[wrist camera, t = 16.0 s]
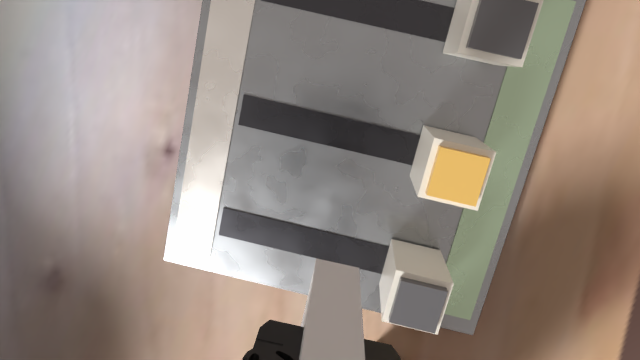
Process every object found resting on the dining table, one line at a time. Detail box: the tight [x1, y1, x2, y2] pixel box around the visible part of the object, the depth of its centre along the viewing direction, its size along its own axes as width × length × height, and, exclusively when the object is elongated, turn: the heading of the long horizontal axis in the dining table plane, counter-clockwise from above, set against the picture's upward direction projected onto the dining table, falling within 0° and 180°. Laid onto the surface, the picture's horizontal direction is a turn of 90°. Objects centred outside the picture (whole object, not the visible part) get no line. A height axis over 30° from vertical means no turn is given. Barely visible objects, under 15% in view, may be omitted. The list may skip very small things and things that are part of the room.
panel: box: [164, 0, 586, 335], centre depth 29 cm, size 20×21×2 cm
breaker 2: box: [443, 0, 544, 67], centre depth 24 cm, size 3×3×5 cm
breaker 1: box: [379, 239, 454, 335], centre depth 28 cm, size 3×3×5 cm
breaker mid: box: [410, 125, 496, 211], centre depth 26 cm, size 3×3×5 cm
